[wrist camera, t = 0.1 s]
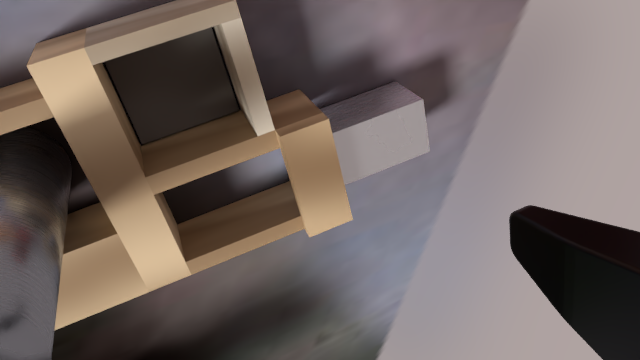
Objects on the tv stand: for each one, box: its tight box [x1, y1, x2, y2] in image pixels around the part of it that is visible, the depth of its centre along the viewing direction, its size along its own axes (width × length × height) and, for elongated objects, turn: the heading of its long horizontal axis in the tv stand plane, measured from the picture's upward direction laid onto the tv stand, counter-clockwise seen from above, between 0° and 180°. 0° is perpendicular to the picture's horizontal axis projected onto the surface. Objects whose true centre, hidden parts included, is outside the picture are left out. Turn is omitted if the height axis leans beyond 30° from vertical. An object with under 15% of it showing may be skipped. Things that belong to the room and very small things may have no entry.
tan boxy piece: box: [84, 0, 275, 144], centre depth 20 cm, size 5×5×3 cm
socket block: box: [0, 28, 353, 330], centre depth 21 cm, size 10×15×4 cm
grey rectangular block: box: [320, 81, 430, 185], centre depth 24 cm, size 3×6×3 cm, turn 103°
